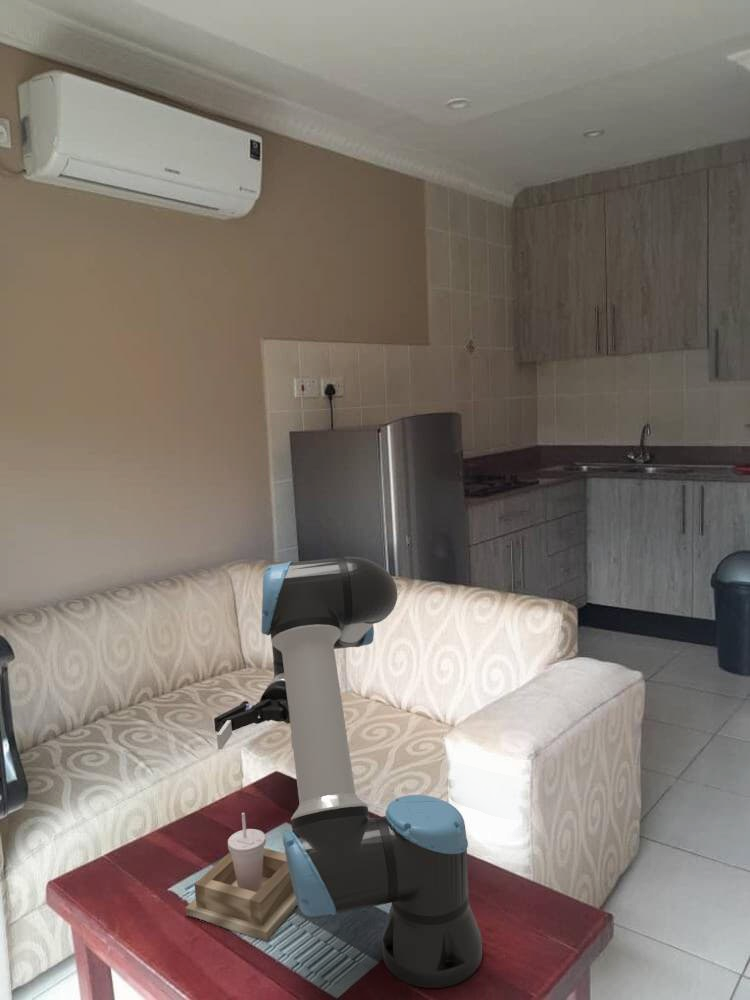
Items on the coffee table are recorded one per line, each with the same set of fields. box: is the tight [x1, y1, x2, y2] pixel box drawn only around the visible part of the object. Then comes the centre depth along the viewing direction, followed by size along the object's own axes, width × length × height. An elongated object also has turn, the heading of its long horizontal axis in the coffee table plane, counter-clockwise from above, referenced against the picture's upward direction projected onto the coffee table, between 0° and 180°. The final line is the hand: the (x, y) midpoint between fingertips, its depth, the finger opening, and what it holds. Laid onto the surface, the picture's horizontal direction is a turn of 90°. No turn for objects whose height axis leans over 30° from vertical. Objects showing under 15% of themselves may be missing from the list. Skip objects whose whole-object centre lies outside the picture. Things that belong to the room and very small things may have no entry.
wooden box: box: [185, 847, 298, 942], centre depth 132 cm, size 16×15×6 cm
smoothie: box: [227, 812, 267, 892], centre depth 132 cm, size 6×6×14 cm
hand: (256, 741), depth 140 cm, fingers open, 13 cm apart
